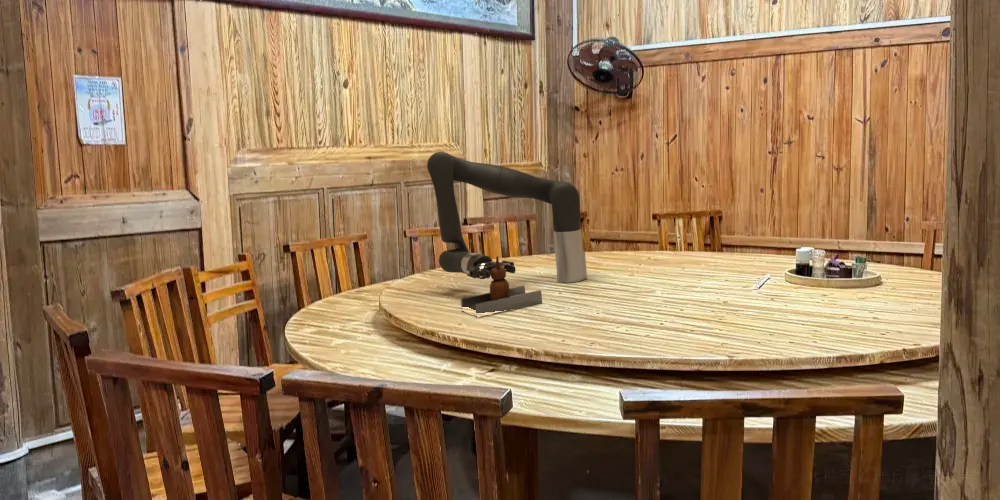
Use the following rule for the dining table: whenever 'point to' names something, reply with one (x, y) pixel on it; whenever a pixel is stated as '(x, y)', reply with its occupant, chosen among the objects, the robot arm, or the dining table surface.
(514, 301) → the sliding track
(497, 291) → the wooden figurine
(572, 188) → the robot arm
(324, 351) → the dining table surface
